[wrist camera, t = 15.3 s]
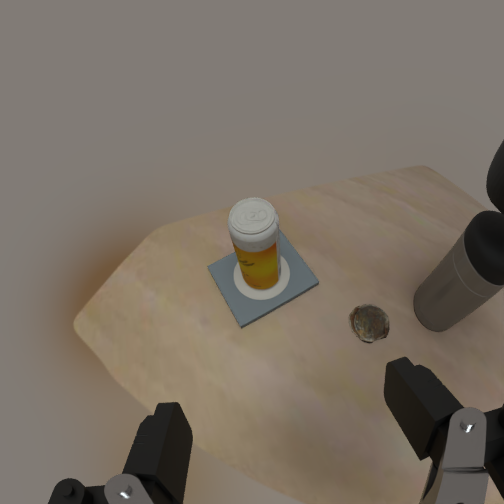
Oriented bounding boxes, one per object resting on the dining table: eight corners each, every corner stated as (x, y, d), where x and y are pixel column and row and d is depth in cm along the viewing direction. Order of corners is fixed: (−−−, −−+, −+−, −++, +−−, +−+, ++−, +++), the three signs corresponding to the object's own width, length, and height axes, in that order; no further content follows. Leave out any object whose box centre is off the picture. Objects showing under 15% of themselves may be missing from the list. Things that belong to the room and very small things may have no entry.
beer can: (242, 258, 47) (226, 197, 35) (279, 256, 47) (276, 193, 34) (243, 292, 44) (224, 238, 31) (282, 290, 44) (280, 234, 31)
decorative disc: (379, 299, 42) (381, 297, 41) (393, 335, 39) (395, 333, 38) (343, 311, 42) (344, 309, 41) (356, 348, 39) (357, 347, 38)
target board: (279, 232, 51) (279, 228, 50) (318, 284, 45) (319, 280, 44) (208, 269, 48) (207, 265, 47) (241, 328, 42) (240, 326, 41)
